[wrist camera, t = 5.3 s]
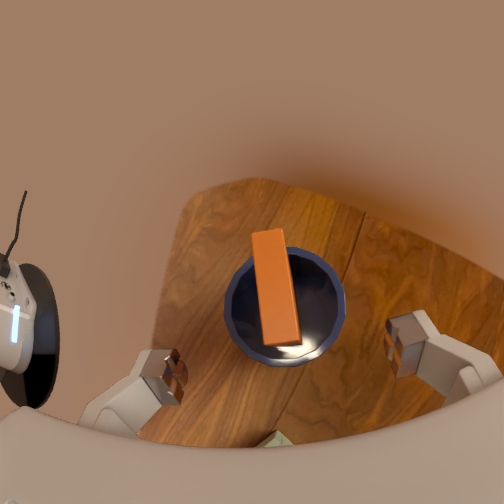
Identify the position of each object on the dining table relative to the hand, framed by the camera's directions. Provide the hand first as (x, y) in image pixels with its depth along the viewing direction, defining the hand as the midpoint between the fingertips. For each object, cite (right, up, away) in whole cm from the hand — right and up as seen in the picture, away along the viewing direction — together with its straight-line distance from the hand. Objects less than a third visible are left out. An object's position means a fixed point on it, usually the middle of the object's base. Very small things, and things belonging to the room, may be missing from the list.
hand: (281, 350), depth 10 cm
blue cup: (+2, -3, +15) cm, 15 cm away
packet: (+2, -2, +14) cm, 15 cm away
